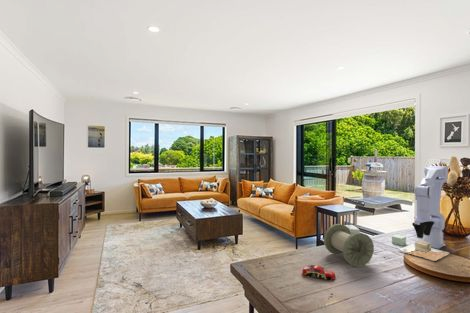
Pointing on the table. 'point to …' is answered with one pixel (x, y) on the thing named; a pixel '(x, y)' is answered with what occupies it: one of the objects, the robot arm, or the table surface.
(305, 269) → the race car
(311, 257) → the table surface
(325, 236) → the spool
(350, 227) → the ink box
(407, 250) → the baseplate
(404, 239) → the sage block
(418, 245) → the maple block
